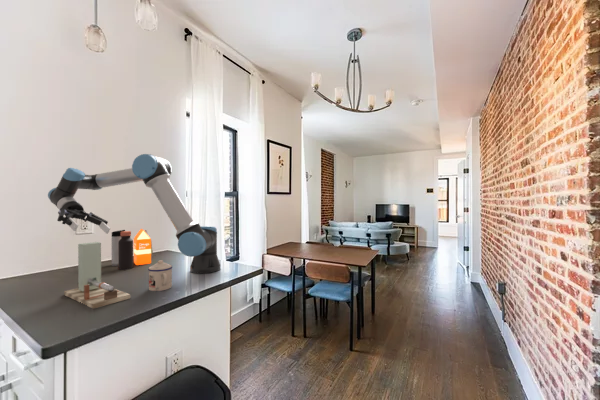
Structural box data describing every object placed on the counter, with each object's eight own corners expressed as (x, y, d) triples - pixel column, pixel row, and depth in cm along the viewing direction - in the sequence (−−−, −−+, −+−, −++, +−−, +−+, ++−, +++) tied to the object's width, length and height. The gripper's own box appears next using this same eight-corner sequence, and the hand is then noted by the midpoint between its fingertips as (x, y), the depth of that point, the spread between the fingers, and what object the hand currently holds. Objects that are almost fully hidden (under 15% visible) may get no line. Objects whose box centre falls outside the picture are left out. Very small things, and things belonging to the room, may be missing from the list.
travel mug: (123, 265, 159) (123, 230, 159) (110, 266, 157) (110, 230, 157) (126, 263, 165) (126, 229, 165) (113, 264, 162) (113, 229, 162)
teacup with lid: (145, 288, 118) (145, 260, 118) (168, 283, 124) (168, 257, 124) (153, 295, 109) (153, 265, 109) (177, 290, 115) (177, 261, 115)
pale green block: (78, 289, 109) (78, 243, 109) (96, 285, 114) (96, 241, 114) (82, 291, 107) (82, 244, 107) (101, 287, 112) (101, 242, 112)
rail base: (64, 295, 109) (64, 278, 109) (99, 286, 119) (99, 271, 119) (93, 308, 95) (93, 289, 95) (130, 298, 105) (130, 281, 105)
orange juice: (148, 260, 171) (148, 228, 171) (151, 263, 164) (151, 229, 164) (133, 262, 166) (133, 229, 166) (136, 265, 159) (136, 230, 159)
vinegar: (136, 267, 155) (136, 231, 155) (125, 270, 148) (125, 232, 148) (126, 266, 156) (126, 230, 156) (115, 269, 150) (115, 232, 150)
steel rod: (80, 282, 113) (80, 276, 113) (86, 281, 115) (86, 275, 115) (107, 292, 100) (107, 286, 100) (114, 291, 102) (114, 284, 102)
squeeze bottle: (155, 257, 182) (155, 229, 182) (147, 259, 174) (147, 230, 174) (143, 257, 183) (143, 229, 183) (135, 259, 175) (135, 230, 175)
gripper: (94, 218, 143) (116, 238, 134) (34, 210, 120) (56, 234, 111) (101, 205, 143) (123, 225, 134) (42, 195, 120) (65, 218, 111)
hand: (93, 229), depth 123 cm, fingers open, 13 cm apart
